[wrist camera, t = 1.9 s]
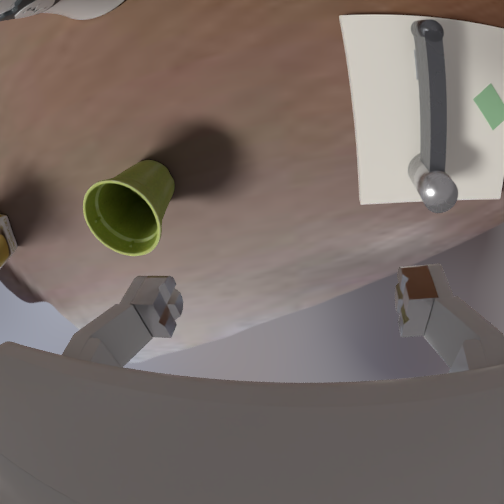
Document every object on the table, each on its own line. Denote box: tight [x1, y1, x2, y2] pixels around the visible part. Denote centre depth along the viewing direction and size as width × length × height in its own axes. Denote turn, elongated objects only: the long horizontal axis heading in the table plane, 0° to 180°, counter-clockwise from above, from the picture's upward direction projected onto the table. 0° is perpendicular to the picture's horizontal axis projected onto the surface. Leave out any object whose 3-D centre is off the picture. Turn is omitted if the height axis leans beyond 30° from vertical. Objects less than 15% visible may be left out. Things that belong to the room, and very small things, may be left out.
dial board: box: [339, 14, 504, 205], centre depth 26 cm, size 20×18×2 cm
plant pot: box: [83, 160, 175, 256], centre depth 34 cm, size 9×9×9 cm
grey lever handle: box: [408, 19, 458, 213], centre depth 23 cm, size 17×4×6 cm, turn 12°
